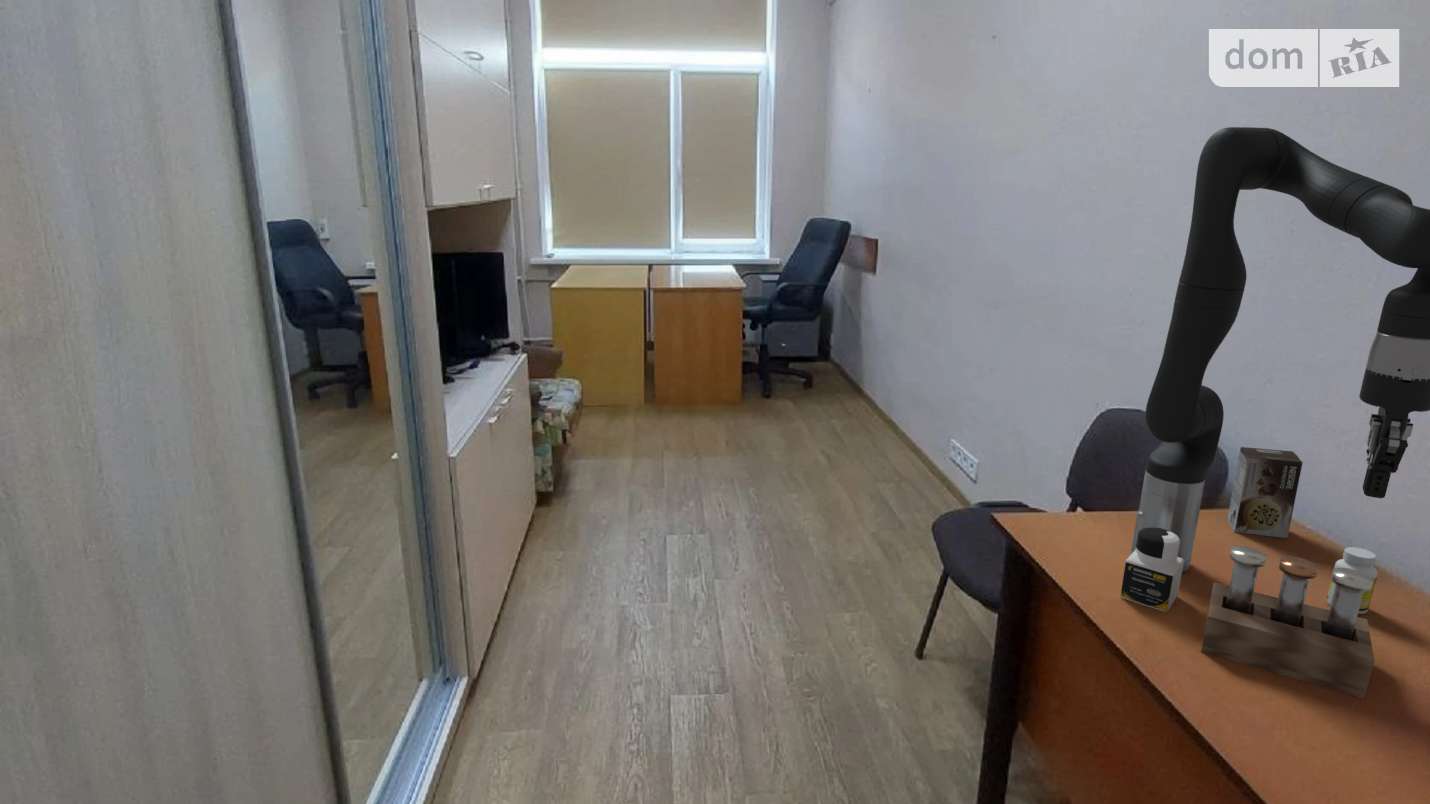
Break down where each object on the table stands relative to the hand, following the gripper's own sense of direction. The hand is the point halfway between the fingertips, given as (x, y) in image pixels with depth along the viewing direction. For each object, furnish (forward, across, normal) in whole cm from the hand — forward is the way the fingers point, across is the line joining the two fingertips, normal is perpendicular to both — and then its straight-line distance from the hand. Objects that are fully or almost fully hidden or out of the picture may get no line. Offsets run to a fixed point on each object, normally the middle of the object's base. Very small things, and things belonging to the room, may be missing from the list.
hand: (1373, 494), depth 104 cm
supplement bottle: (+27, -22, +3) cm, 35 cm away
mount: (+27, 0, -6) cm, 28 cm away
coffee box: (+27, -48, -10) cm, 56 cm away
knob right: (+22, 0, 0) cm, 22 cm away
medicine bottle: (+27, -7, -24) cm, 37 cm away
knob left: (+22, 0, -12) cm, 25 cm away
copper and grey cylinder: (+22, 0, -6) cm, 23 cm away
